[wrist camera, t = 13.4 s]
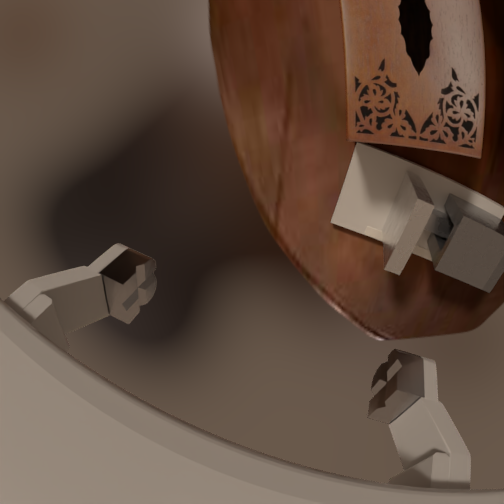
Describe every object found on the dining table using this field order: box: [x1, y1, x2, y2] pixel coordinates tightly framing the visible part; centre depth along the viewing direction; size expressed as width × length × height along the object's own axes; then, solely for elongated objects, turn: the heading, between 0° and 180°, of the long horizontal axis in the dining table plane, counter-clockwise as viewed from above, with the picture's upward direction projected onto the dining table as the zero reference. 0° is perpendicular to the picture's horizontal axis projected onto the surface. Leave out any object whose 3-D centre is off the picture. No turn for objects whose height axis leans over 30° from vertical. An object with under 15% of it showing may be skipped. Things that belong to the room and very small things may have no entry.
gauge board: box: [331, 142, 504, 261], centre depth 38 cm, size 12×24×1 cm, turn 78°
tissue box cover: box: [339, 0, 485, 159], centre depth 23 cm, size 26×14×10 cm, turn 3°
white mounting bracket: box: [382, 170, 454, 275], centre depth 33 cm, size 11×11×10 cm
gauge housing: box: [427, 193, 504, 293], centre depth 33 cm, size 8×10×7 cm
